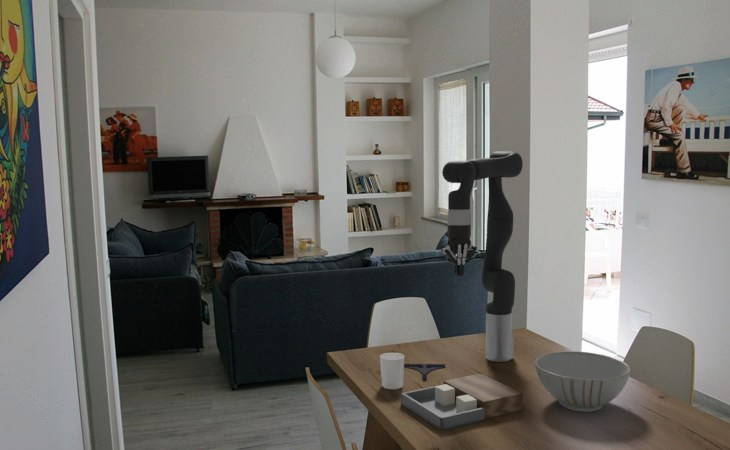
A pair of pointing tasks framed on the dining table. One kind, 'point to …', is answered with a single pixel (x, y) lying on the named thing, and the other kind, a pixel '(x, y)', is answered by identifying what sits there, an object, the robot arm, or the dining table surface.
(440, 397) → the cream cube
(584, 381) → the decorative bowl
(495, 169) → the robot arm
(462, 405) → the off-white cube
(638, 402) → the dining table surface
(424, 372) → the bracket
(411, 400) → the tray
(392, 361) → the white cup
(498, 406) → the walnut board
